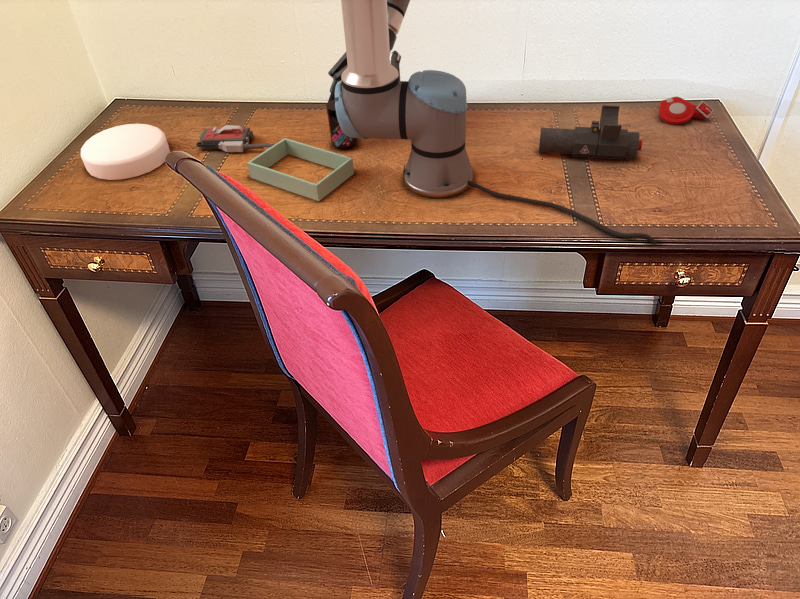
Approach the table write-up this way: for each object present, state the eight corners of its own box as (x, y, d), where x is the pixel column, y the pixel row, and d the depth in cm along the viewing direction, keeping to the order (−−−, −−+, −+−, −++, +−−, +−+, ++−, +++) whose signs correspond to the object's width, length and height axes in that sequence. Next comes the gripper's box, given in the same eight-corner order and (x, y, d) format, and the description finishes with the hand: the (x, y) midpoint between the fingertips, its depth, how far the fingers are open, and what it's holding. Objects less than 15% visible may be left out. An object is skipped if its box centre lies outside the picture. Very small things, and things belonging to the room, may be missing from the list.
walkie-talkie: (194, 154, 154) (274, 153, 153) (190, 138, 151) (271, 136, 150) (204, 137, 161) (281, 135, 159) (200, 121, 158) (278, 119, 156)
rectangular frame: (354, 173, 144) (352, 158, 142) (318, 201, 136) (316, 185, 134) (287, 152, 153) (284, 137, 150) (250, 177, 145) (246, 162, 142)
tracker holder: (668, 124, 152) (651, 97, 158) (666, 137, 156) (649, 111, 161) (718, 108, 151) (699, 82, 157) (714, 121, 155) (696, 96, 160)
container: (167, 173, 148) (161, 155, 145) (79, 185, 146) (71, 167, 143) (172, 134, 163) (167, 117, 160) (92, 144, 160) (85, 128, 157)
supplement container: (326, 148, 153) (321, 108, 146) (338, 135, 158) (334, 96, 151) (351, 153, 151) (346, 112, 144) (363, 140, 156) (359, 100, 149)
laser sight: (539, 141, 151) (543, 102, 144) (636, 147, 147) (646, 107, 140) (537, 162, 144) (542, 121, 137) (639, 168, 140) (649, 127, 133)
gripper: (433, 45, 150) (402, 129, 151) (349, 29, 160) (320, 108, 161) (421, 29, 143) (388, 118, 144) (334, 14, 154) (304, 96, 155)
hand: (352, 112), depth 153 cm, fingers open, 13 cm apart
